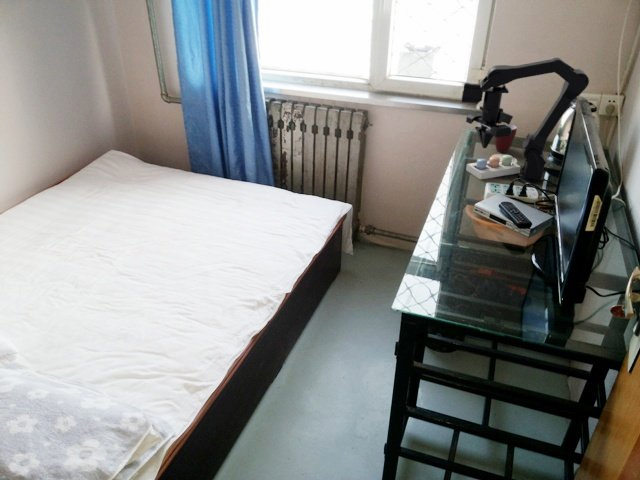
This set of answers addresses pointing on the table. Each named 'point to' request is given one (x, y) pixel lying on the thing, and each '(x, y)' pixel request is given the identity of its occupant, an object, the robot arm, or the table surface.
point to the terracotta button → (494, 162)
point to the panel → (493, 170)
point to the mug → (505, 139)
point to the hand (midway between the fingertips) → (484, 147)
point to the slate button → (481, 164)
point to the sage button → (506, 160)
